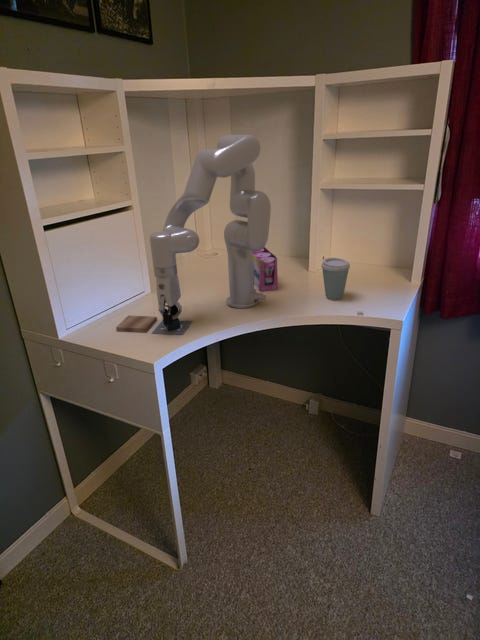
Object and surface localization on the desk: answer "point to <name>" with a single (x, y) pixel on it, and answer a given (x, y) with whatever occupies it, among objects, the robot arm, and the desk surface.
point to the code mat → (163, 330)
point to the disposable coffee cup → (335, 277)
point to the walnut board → (136, 324)
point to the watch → (174, 318)
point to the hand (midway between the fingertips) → (171, 320)
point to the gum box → (265, 270)
